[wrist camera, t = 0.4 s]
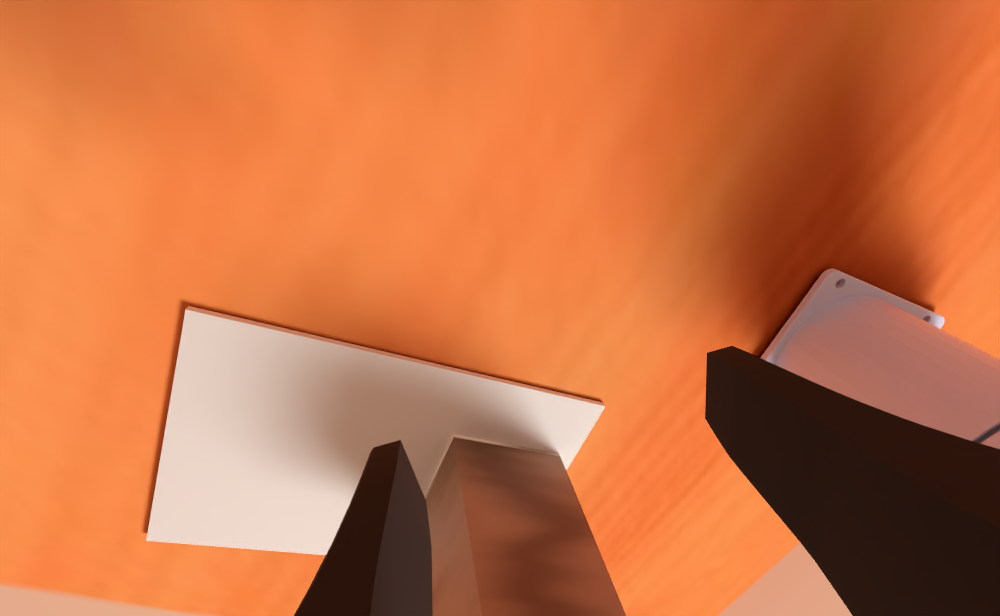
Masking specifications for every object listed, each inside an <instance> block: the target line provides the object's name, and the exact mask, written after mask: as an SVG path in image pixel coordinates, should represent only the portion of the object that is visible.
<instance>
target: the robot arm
mask: <svg viewBox="0 0 1000 616" xmlns="http://www.w3.org/2000/svg"><path fill="white" fill-rule="evenodd" d="M837 281H838V282H837ZM944 322H945V318H944V317H943V316H941V315H939V314H937V313H934V312H932V311H930V310H928V309H925V308H923V307H921V306H919V305H916V304H914V303H912V302H909V301H907V300H905V299H903V298H900V297H898V296H896V295H894V294H891V293H889V292H887V291H884V290H882V289H880V288H878V287H875V286H873V285H871V284H868V283H866V282H864V281H862V280H859V279H857V278H855V277H853V276H850V275H848V274H846V273H843V272H841V271H839V270H837V269H834V268H830V269H827V270H826V271H824V272H823V273H822V274H821V275H820V277H819V278H818V280H817V281H816V282H815V284H814V285H813V286H812V288H811V289H810V290H809V292H808V293H807V295H806V296H805V297H804V299H803V300H802V301H801V303H800V304H799V306H798V307H797V308H796V310H795V311H794V312H793V314H792V315H791V316H790V318H789V319H788V321H787V322H786V323H785V325H784V326H783V327H782V329H781V330H780V331H779V333H778V334H777V336H776V337H775V338H774V340H773V341H772V342H771V344H770V345H769V347H768V348H767V349H766V351H765V352H764V353H763V355H762V356H761V357H760V358H759V357H757V356H755V355H752V354H750V353H748V352H745V351H743V350H741V349H738V348H736V347H733V346H730V347H726V348H723V349H719V350H716V351H712V352H709V353H707V376H706V413H705V419H706V420H707V422H708V424H709V425H710V427H711V428H712V430H713V432H714V433H715V435H716V437H717V438H718V440H719V441H720V443H721V444H722V446H723V447H724V449H725V450H726V452H727V453H728V455H729V456H730V458H731V459H732V460H733V461H734V463H735V464H736V465H737V466H738V468H739V469H740V470H741V471H742V472H743V474H744V475H745V476H746V477H747V479H748V480H749V481H750V482H751V483H752V485H753V486H754V487H755V488H756V489H757V491H758V492H759V493H760V494H761V495H762V497H763V498H764V499H765V500H766V501H767V503H768V504H769V505H770V506H771V507H772V509H773V510H774V511H775V512H776V513H777V515H778V516H779V517H780V518H781V519H782V521H783V522H784V523H785V524H786V525H787V527H788V528H789V529H790V530H791V531H792V533H793V534H794V535H795V536H796V537H797V539H798V540H799V541H800V542H801V544H802V545H803V546H804V547H805V549H806V550H807V551H808V553H809V554H810V555H811V556H812V558H813V559H814V560H815V562H816V563H817V564H818V566H819V567H820V569H821V570H822V572H823V573H824V575H825V576H826V577H827V579H828V580H829V582H830V583H831V585H832V586H833V588H834V589H835V590H836V592H837V593H838V595H839V596H840V598H841V599H842V600H843V602H844V603H845V605H846V606H847V608H848V609H849V611H850V612H851V614H852V615H853V616H1000V359H998V358H996V357H994V356H992V355H990V354H988V353H986V352H984V351H982V350H980V349H978V348H976V347H974V346H972V345H971V344H969V343H967V342H965V341H963V340H961V339H959V338H957V337H955V336H953V335H951V334H949V333H947V332H945V331H943V330H941V329H940V328H941V327H942V326H943V324H944ZM294 616H433V606H432V545H431V537H430V528H429V520H428V513H427V505H426V499H425V497H424V495H423V492H422V490H421V487H420V485H419V483H418V480H417V478H416V476H415V473H414V471H413V468H412V466H411V464H410V461H409V459H408V456H407V454H406V452H405V449H404V447H403V444H402V442H401V440H398V441H395V442H391V443H388V444H384V445H380V446H377V447H374V448H373V449H372V451H371V452H370V454H369V457H368V460H367V462H366V465H365V467H364V470H363V473H362V475H361V478H360V480H359V483H358V485H357V488H356V490H355V492H354V495H353V497H352V500H351V502H350V504H349V507H348V509H347V511H346V513H345V516H344V518H343V520H342V522H341V524H340V527H339V529H338V531H337V533H336V536H335V538H334V540H333V542H332V544H331V546H330V548H329V550H328V552H327V554H326V556H325V558H324V560H323V562H322V564H321V566H320V568H319V570H318V572H317V574H316V576H315V578H314V580H313V582H312V584H311V586H310V587H309V589H308V591H307V593H306V595H305V597H304V598H303V600H302V602H301V604H300V606H299V607H298V609H297V611H296V613H295V614H294Z"/></svg>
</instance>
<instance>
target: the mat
mask: <svg viewBox="0 0 1000 616" xmlns="http://www.w3.org/2000/svg"><path fill="white" fill-rule="evenodd" d="M604 408H605V405H604V403H603V402H599V401H594V400H590V399H586V398H581V397H577V396H573V395H569V394H564V393H560V392H556V391H551V390H547V389H543V388H539V387H534V386H530V385H526V384H522V383H517V382H513V381H509V380H504V379H500V378H496V377H492V376H487V375H483V374H479V373H474V372H470V371H466V370H462V369H457V368H453V367H449V366H444V365H440V364H436V363H432V362H427V361H423V360H419V359H415V358H410V357H406V356H402V355H397V354H393V353H389V352H385V351H380V350H376V349H372V348H367V347H363V346H359V345H355V344H350V343H346V342H342V341H337V340H333V339H329V338H325V337H320V336H316V335H312V334H307V333H303V332H299V331H295V330H290V329H286V328H282V327H278V326H273V325H269V324H265V323H260V322H256V321H252V320H248V319H243V318H239V317H235V316H230V315H226V314H222V313H218V312H213V311H209V310H205V309H200V308H196V307H192V306H188V307H187V308H186V310H185V316H184V321H183V327H182V333H181V339H180V345H179V351H178V357H177V363H176V368H175V374H174V380H173V386H172V392H171V398H170V404H169V410H168V415H167V421H166V427H165V433H164V439H163V445H162V451H161V457H160V462H159V468H158V474H157V480H156V486H155V492H154V498H153V504H152V509H151V515H150V521H149V527H148V533H147V539H146V541H157V542H169V543H181V544H194V545H206V546H219V547H231V548H243V549H256V550H268V551H281V552H293V553H305V554H318V555H326V554H327V552H328V550H329V548H330V546H331V544H332V542H333V540H334V538H335V536H336V533H337V531H338V529H339V527H340V524H341V522H342V520H343V518H344V516H345V513H346V511H347V509H348V507H349V504H350V502H351V500H352V497H353V495H354V492H355V490H356V488H357V485H358V483H359V480H360V478H361V475H362V473H363V470H364V467H365V465H366V462H367V460H368V457H369V454H370V452H371V451H372V449H373V448H374V447H377V446H380V445H384V444H388V443H391V442H395V441H398V440H401V442H402V444H403V447H404V449H405V452H406V454H407V456H408V459H409V461H410V464H411V466H412V468H413V471H414V473H415V476H416V478H417V480H418V483H419V485H420V487H421V490H422V492H423V495H425V493H426V491H427V489H428V487H429V485H430V483H431V480H432V478H433V476H434V474H435V472H436V470H437V468H438V466H439V463H440V461H441V459H442V457H443V455H444V453H445V451H446V449H447V446H448V444H449V442H450V440H451V438H452V436H453V434H455V435H461V436H466V437H471V438H477V439H482V440H488V441H493V442H499V443H504V444H510V445H515V446H521V447H526V448H532V449H537V450H543V451H548V452H554V453H559V455H560V457H561V459H562V462H563V464H564V467H565V469H566V470H567V469H568V467H569V465H570V464H571V462H572V460H573V459H574V457H575V456H576V454H577V452H578V451H579V449H580V447H581V446H582V444H583V442H584V441H585V439H586V438H587V436H588V434H589V433H590V431H591V429H592V428H593V426H594V424H595V423H596V421H597V420H598V418H599V416H600V415H601V413H602V411H603V410H604Z"/></svg>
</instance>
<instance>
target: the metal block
mask: <svg viewBox="0 0 1000 616" xmlns="http://www.w3.org/2000/svg"><path fill="white" fill-rule="evenodd" d="M424 497H425V499H426V505H427V513H428V520H429V528H430V537H431V545H432V606H433V616H626V615H625V612H624V610H623V607H622V605H621V602H620V600H619V598H618V595H617V593H616V590H615V588H614V585H613V583H612V581H611V578H610V576H609V573H608V571H607V568H606V566H605V564H604V561H603V559H602V556H601V554H600V551H599V549H598V547H597V544H596V542H595V539H594V537H593V535H592V532H591V530H590V527H589V525H588V522H587V520H586V518H585V515H584V513H583V510H582V508H581V505H580V503H579V501H578V498H577V496H576V493H575V491H574V488H573V486H572V484H571V481H570V479H569V476H568V474H567V471H566V469H565V467H564V464H563V462H562V459H561V457H560V455H559V453H554V452H548V451H543V450H537V449H532V448H526V447H521V446H515V445H510V444H504V443H499V442H493V441H488V440H482V439H477V438H471V437H466V436H461V435H455V434H453V436H452V438H451V440H450V442H449V444H448V446H447V449H446V451H445V453H444V455H443V457H442V459H441V461H440V463H439V466H438V468H437V470H436V472H435V474H434V476H433V478H432V480H431V483H430V485H429V487H428V489H427V491H426V493H425V495H424Z"/></svg>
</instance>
